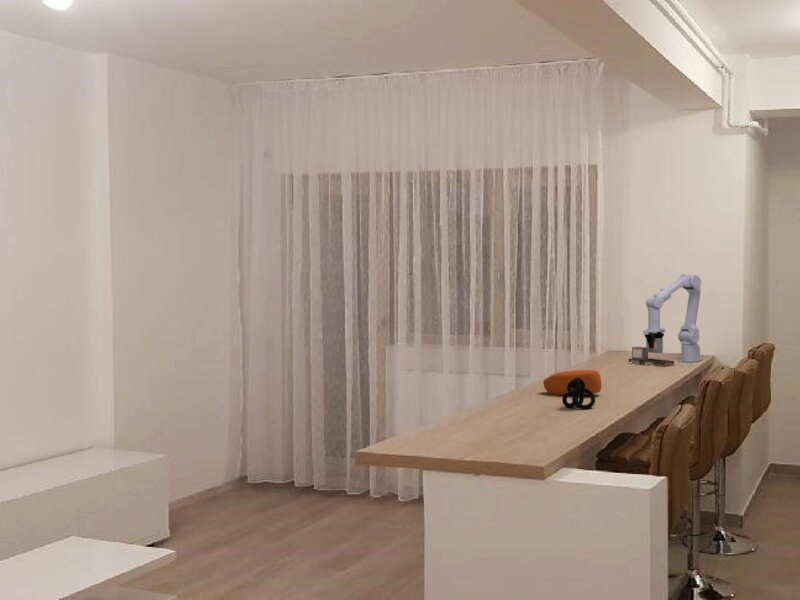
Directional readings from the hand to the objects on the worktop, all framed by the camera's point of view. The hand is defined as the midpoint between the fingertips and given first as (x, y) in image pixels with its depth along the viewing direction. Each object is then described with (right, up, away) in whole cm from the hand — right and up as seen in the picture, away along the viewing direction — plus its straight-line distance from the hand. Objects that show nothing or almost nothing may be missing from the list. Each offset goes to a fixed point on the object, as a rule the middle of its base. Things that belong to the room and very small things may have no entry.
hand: (654, 347), depth 542 cm
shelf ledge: (-1, -8, +2) cm, 9 cm away
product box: (0, -2, 0) cm, 2 cm away
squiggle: (-57, -18, -119) cm, 133 cm away
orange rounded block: (-55, -16, -87) cm, 104 cm away
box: (-5, -7, +8) cm, 12 cm away
